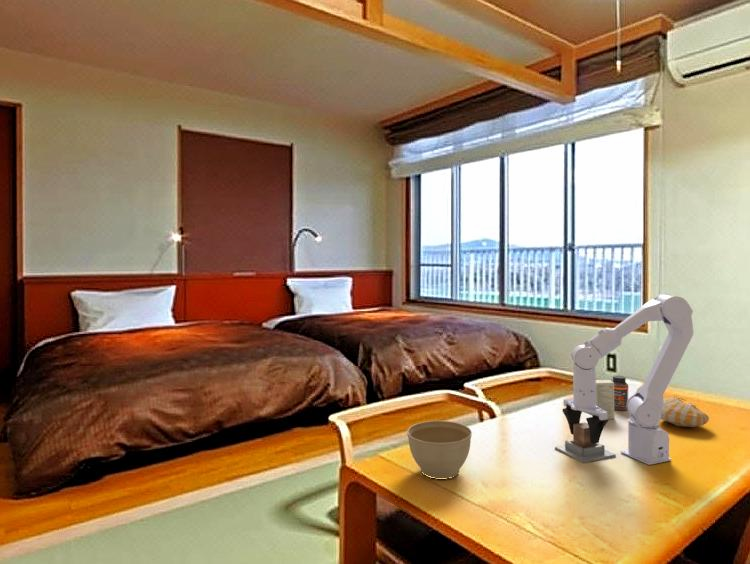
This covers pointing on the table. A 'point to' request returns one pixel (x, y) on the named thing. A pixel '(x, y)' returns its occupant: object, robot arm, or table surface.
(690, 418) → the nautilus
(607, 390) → the skincare box
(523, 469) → the table surface
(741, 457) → the table surface
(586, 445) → the walnut block
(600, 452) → the stand
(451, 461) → the planter bowl
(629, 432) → the robot arm
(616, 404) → the supplement bottle
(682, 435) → the table surface
